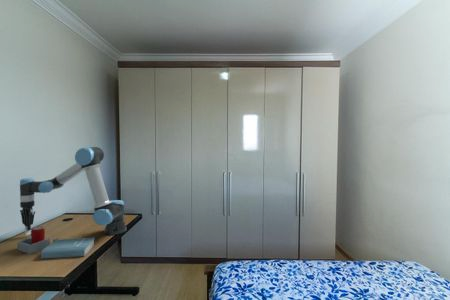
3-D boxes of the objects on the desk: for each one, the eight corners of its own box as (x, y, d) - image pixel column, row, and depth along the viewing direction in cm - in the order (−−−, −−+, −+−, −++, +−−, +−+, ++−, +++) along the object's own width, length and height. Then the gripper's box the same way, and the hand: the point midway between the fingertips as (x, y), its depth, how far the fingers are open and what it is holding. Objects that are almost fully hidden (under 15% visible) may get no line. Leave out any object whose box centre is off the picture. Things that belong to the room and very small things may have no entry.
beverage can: (37, 244, 153) (37, 225, 153) (47, 244, 153) (47, 226, 153) (28, 248, 146) (28, 229, 146) (38, 249, 146) (38, 230, 146)
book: (94, 245, 154) (94, 237, 154) (84, 257, 138) (84, 248, 138) (56, 247, 150) (56, 239, 150) (41, 259, 134) (40, 251, 134)
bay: (58, 244, 153) (58, 236, 153) (31, 254, 139) (31, 246, 139) (44, 240, 159) (44, 233, 158) (17, 250, 145) (17, 242, 144)
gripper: (39, 200, 164) (39, 234, 165) (27, 198, 169) (28, 231, 170) (26, 203, 157) (27, 238, 158) (15, 201, 162) (15, 235, 163)
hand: (27, 234), depth 164 cm, fingers closed
